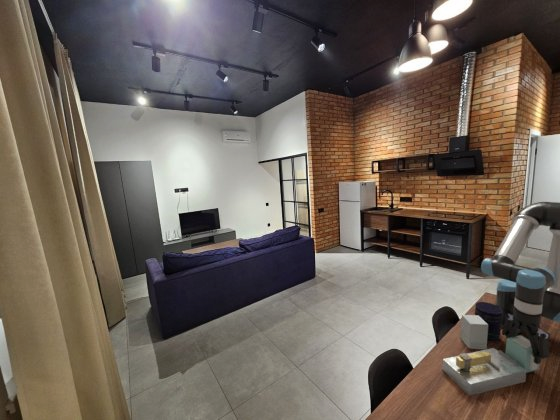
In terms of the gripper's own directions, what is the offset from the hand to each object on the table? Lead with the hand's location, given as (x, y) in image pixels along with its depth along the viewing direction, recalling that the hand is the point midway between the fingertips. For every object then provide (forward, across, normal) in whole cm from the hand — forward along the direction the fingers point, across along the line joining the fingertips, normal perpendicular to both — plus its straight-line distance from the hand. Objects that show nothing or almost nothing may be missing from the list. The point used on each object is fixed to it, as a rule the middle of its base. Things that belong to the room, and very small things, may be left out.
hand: (521, 361), depth 96 cm
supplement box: (+4, +16, +5) cm, 17 cm away
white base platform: (+4, +1, +18) cm, 18 cm away
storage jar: (+4, +19, -6) cm, 20 cm away
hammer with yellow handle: (-2, +1, +22) cm, 22 cm away
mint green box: (+2, 0, 0) cm, 2 cm away
